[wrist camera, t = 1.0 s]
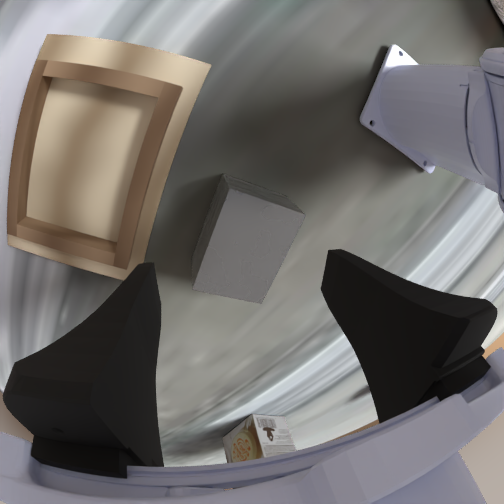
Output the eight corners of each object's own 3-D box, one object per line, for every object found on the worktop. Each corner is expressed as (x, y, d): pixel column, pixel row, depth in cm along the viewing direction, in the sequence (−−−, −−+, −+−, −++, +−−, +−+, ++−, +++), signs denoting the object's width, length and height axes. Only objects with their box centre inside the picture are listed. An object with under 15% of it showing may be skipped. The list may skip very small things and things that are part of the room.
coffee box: (254, 439, 40) (276, 519, 26) (221, 437, 37) (239, 525, 23) (286, 415, 37) (318, 505, 23) (251, 412, 34) (279, 514, 20)
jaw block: (285, 195, 20) (305, 214, 17) (250, 273, 23) (261, 303, 20) (222, 172, 19) (229, 188, 15) (191, 258, 21) (192, 289, 18)
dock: (210, 67, 15) (213, 60, 12) (140, 275, 21) (135, 296, 18) (54, 37, 10) (37, 30, 8) (14, 238, 17) (-1, 253, 14)
